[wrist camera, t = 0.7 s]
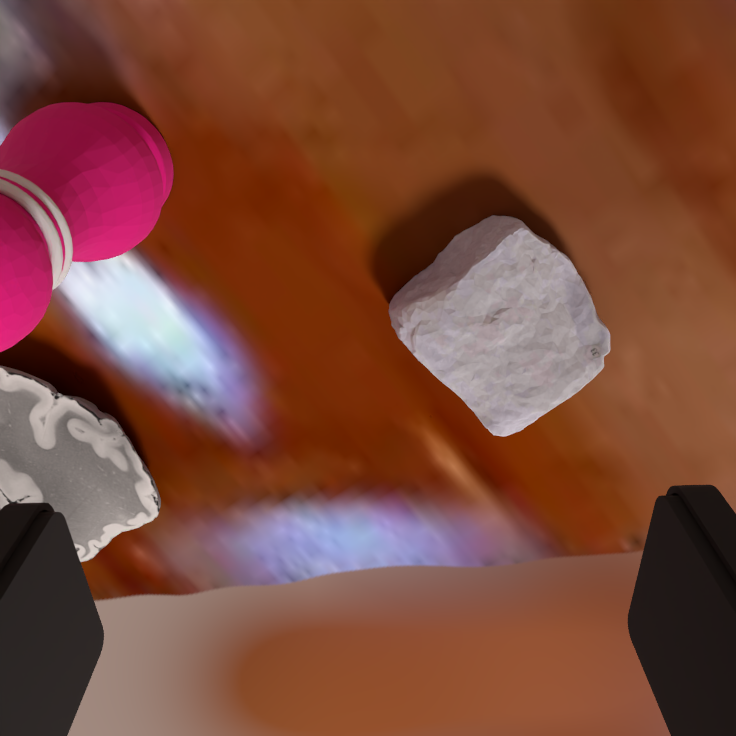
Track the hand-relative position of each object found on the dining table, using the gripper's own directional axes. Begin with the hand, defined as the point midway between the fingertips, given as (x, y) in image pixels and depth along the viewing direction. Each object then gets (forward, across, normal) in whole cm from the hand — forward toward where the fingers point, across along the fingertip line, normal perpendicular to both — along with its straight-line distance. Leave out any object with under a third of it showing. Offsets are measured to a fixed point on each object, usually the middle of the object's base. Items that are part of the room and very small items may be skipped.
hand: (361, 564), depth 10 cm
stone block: (+29, -8, +9) cm, 31 cm away
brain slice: (+29, +25, +18) cm, 42 cm away
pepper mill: (+29, +13, 0) cm, 32 cm away
